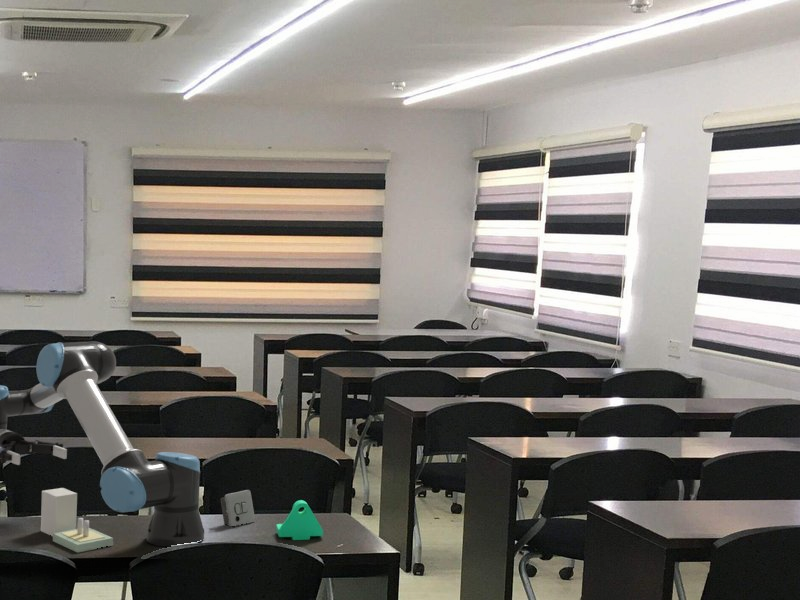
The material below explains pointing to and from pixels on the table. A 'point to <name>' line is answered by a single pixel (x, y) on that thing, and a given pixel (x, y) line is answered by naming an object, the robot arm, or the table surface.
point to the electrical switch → (237, 508)
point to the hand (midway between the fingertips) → (42, 456)
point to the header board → (82, 538)
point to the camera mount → (300, 523)
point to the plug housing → (58, 511)
